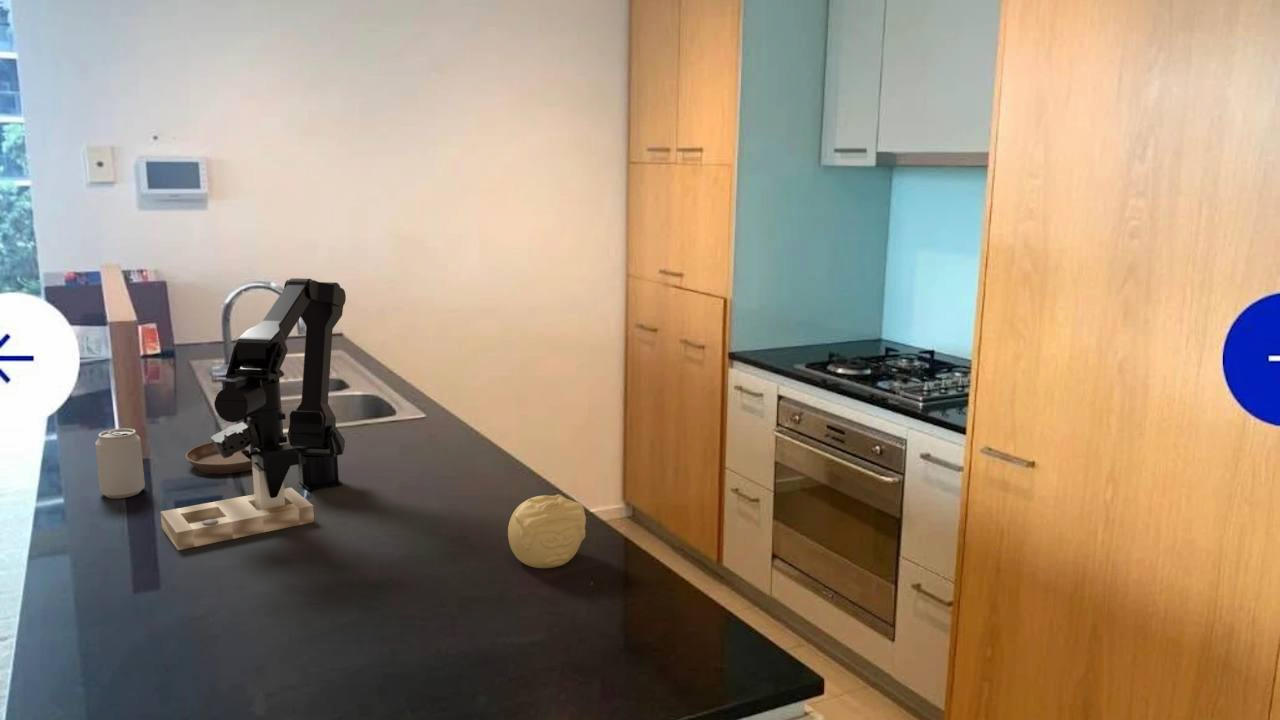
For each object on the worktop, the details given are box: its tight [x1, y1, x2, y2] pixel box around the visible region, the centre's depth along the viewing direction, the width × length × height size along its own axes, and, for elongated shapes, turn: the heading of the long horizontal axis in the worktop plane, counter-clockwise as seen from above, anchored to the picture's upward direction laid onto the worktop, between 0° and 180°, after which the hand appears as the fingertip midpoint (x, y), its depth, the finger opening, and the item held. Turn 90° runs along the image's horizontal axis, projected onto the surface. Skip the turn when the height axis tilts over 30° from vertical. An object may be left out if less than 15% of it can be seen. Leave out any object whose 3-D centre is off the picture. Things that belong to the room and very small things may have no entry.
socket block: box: [160, 487, 315, 551], centre depth 170 cm, size 22×12×3 cm, turn 127°
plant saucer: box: [185, 441, 252, 474], centre depth 205 cm, size 18×18×3 cm
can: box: [94, 428, 146, 499], centre depth 185 cm, size 8×8×12 cm
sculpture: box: [507, 493, 587, 569], centre depth 155 cm, size 11×12×11 cm
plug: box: [251, 454, 285, 510], centre depth 172 cm, size 4×4×10 cm
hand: (269, 494), depth 173 cm, fingers closed on plug, 4 cm apart
